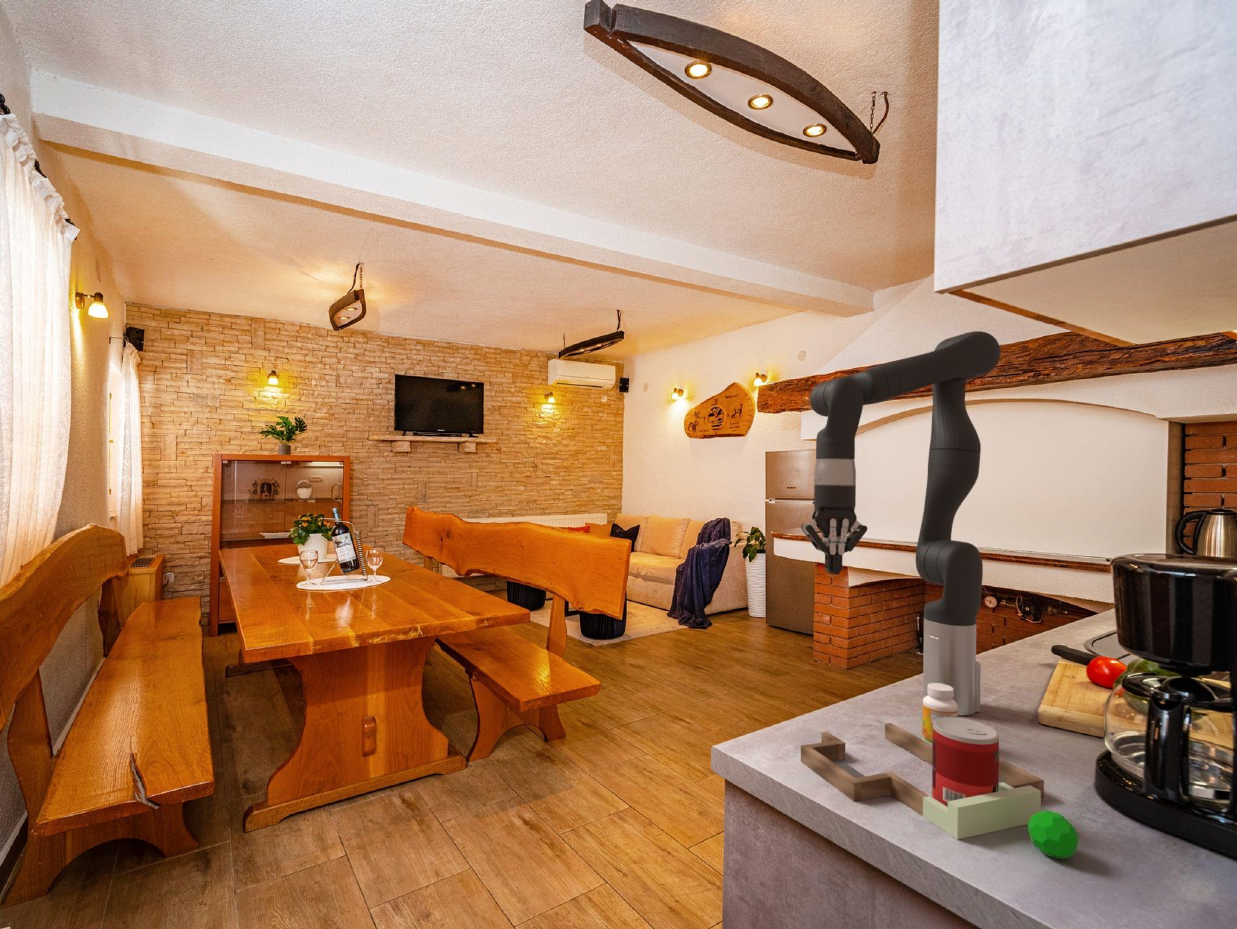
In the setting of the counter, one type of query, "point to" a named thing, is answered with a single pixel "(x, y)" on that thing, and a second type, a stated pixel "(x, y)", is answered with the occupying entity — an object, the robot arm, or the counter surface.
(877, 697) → the counter surface
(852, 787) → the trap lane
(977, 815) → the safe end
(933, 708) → the supplement bottle
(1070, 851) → the polyhedron
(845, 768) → the mats
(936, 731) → the canned food
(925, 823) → the counter surface
